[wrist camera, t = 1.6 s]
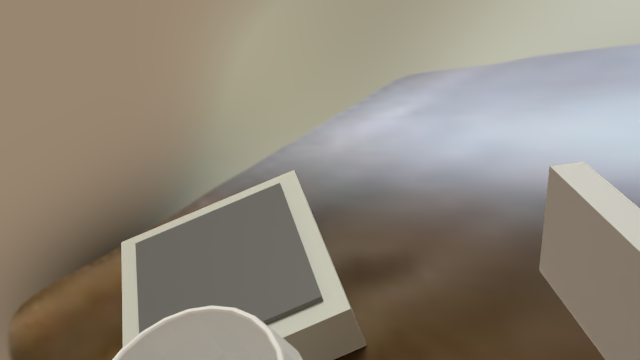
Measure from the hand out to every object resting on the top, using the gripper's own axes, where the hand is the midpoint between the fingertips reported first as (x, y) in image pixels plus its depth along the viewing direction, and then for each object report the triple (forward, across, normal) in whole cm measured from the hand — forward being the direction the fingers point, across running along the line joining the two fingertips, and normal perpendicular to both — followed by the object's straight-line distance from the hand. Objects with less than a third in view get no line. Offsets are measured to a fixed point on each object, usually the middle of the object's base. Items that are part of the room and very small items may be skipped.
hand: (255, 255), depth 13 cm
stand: (+28, -4, -23) cm, 36 cm away
